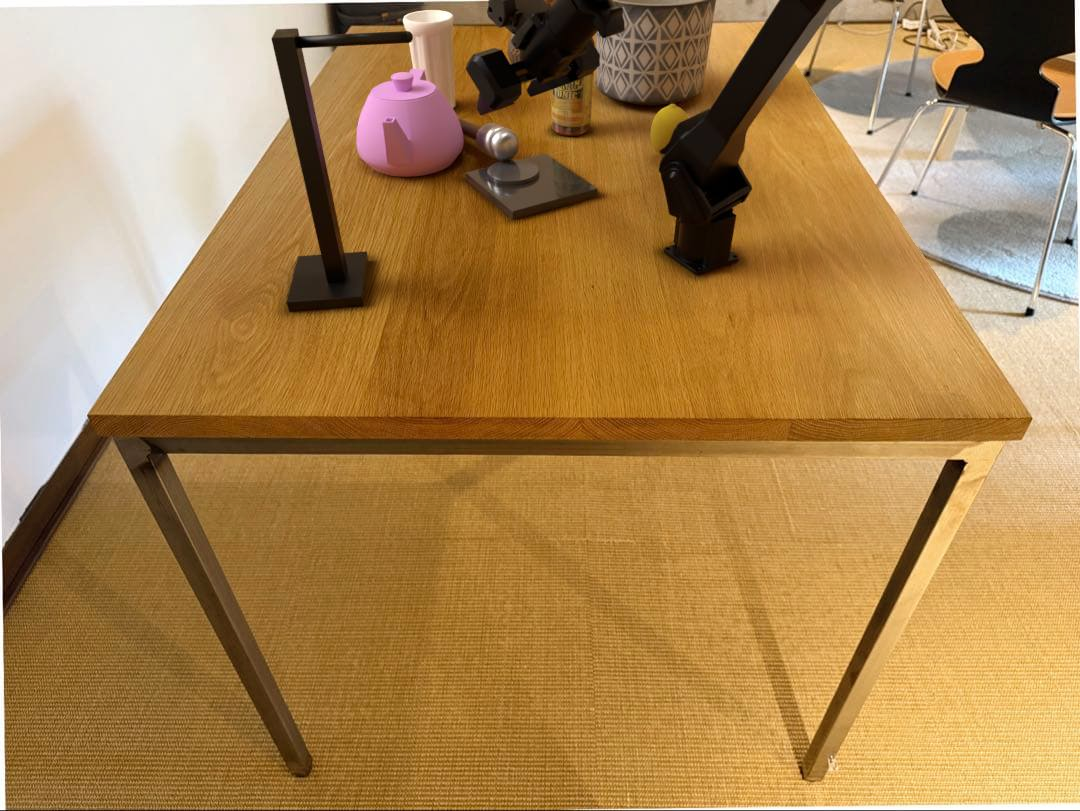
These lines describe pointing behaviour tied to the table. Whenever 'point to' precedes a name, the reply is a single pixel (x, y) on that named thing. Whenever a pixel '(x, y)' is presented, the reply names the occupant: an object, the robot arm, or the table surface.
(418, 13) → the cup
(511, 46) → the vase
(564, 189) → the hob
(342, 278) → the hanger
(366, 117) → the teapot
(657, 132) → the lemon
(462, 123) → the silver tipped brown rod
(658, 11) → the planter
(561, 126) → the sauce bottle
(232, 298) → the table surface
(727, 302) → the table surface
